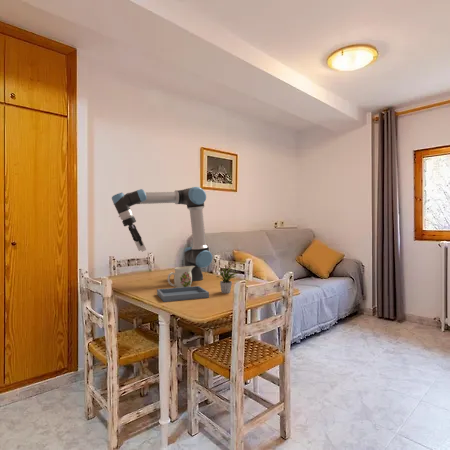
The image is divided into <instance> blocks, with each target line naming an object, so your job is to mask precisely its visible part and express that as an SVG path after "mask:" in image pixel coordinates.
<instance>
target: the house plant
mask: <svg viewBox="0 0 450 450" xmlns="http://www.w3.org/2000/svg"><path fill="white" fill-rule="evenodd" d="M220 268H221V267H219V268H218V267H217V268H216V267H215V268H214V269H216V270H217V271H218V272H219V275H217V276H216V278H220V279H221V280H220V281H219V283H220V284H219V285H220V291H221V294H230V293H231V291H232V290H231V289H232V285H233V284H232V283H233V281H231V279H235V278H236V275H237V274H238V273H237V272H234V273H232V272H233V271H234V269H232V266H230V267H229V268H228V269H227V266H225V268H224V267H223V268H221V269H220ZM231 269H232V270H231ZM221 270H222V271H221ZM234 275H235V276H234Z"/></svg>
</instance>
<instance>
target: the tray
mask: <svg viewBox="0 0 450 450" xmlns="http://www.w3.org/2000/svg"><path fill="white" fill-rule="evenodd" d="M156 295H157V296H158V298H160V300H161V301H162V302H163V303H167V302H178V301H180V302H181V301H188V300H190V301H191V300H199V299H208V298H210V292H209V291H208V290H206V289H205V288H203V287H201V286H200V285H196V286H194V285H193V286H190V287H180V288H176V287H171V288H160V289H159V288H158V289H156Z"/></svg>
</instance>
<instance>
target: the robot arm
mask: <svg viewBox="0 0 450 450" xmlns="http://www.w3.org/2000/svg"><path fill="white" fill-rule="evenodd" d="M206 199H207V194H206V191H205V190H204V189H203V188H201V187H200V186H192V187H189V188H188V187H187V188H184V189H180V190H176V189H175V190H174V191H155V192H151V191H150V192H149V191H148V192H146V191H145V190H144V189H143V188H140V189H137V190H134V191H132V192H127V193H126V194H124V193H123V192H118V193H116V194H114V195H112V196H111V200H112V203H113V205H114V207H115V210H116V211H117V214H118V218H120V220H121V222H122V225H123V226H124V227H127V226H128V227H127V228H128V231H129V233H130V234H131V237H132V240H133V241H134V243H135V246H136V248H137V250H138V252H145V251H147V248H146V247H145V244H144V242H143V239H142V237H141V234H140V233H139V230H138V229H137V226H136V225H135V224H134V223H136V222H137V220H136V217H135V216H134V213H133V211H132V209H131V207H132V206H135V205H142V204H143V205H146V204H147V205H149V204H150V205H151V204H152V205H153V204H174V205H183V206H185V205H186V208H187V210H188V211H189V216H190V226H191V235H192V244H193V245H192V247H191V246H190V247H184V250H183V251H184V252H183V263H184V266H195V267H194V268H193V269H192V271H191V274H192V282H196V281H197V282H198V281H202V280H203V279H204V275H203V272H202V268H207V267H209V266H210V265H211V264H212V261H213V254H212V253H211V251H210V249H209V246H208V245H207V243H206V242H207V241H206V232H205V230H206V229H205V221H204V213H203V210H204V208H205V202H206ZM184 266H183V267H184Z"/></svg>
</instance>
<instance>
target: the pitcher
mask: <svg viewBox="0 0 450 450" xmlns="http://www.w3.org/2000/svg"><path fill="white" fill-rule="evenodd" d="M194 267H195V266H177V267H174V272H173V271H172V272H170V273H168V274H167V282H168V284H169V286H172V287H173V288H180V287H192V286H191V285H192V282H193V281H192V274H191V271H192V269H193V268H194ZM172 275H173V283H172V282H171V280H170V278H171V276H172Z"/></svg>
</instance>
